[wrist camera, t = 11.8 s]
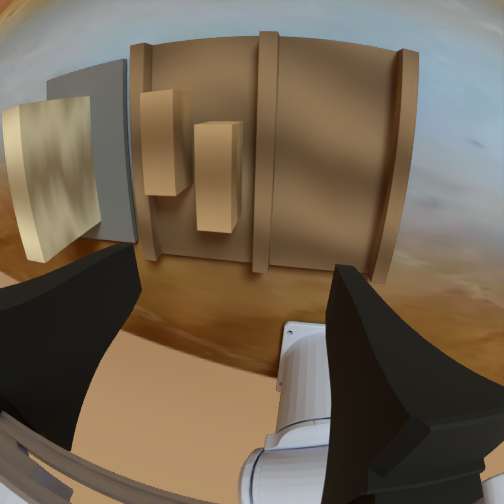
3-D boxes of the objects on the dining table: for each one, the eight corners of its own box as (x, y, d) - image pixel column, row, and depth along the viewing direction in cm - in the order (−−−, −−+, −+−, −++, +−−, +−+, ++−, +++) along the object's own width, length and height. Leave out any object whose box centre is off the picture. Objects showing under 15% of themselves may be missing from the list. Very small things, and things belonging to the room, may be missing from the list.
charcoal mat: (137, 240, 23) (135, 242, 22) (67, 233, 24) (64, 235, 23) (126, 59, 16) (123, 58, 16) (50, 80, 17) (46, 80, 17)
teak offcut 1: (193, 182, 19) (175, 196, 16) (165, 181, 19) (145, 195, 17) (192, 91, 16) (172, 89, 14) (163, 93, 16) (140, 93, 14)
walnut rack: (379, 269, 21) (384, 284, 19) (155, 247, 23) (143, 259, 21) (407, 57, 14) (418, 52, 12) (145, 49, 16) (130, 45, 14)
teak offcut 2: (241, 214, 20) (231, 233, 17) (211, 212, 20) (197, 230, 17) (243, 121, 17) (231, 124, 14) (210, 121, 17) (194, 124, 14)
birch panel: (101, 220, 22) (45, 263, 16) (83, 219, 22) (27, 259, 16) (89, 96, 17) (18, 104, 11) (70, 100, 17) (2, 112, 11)
